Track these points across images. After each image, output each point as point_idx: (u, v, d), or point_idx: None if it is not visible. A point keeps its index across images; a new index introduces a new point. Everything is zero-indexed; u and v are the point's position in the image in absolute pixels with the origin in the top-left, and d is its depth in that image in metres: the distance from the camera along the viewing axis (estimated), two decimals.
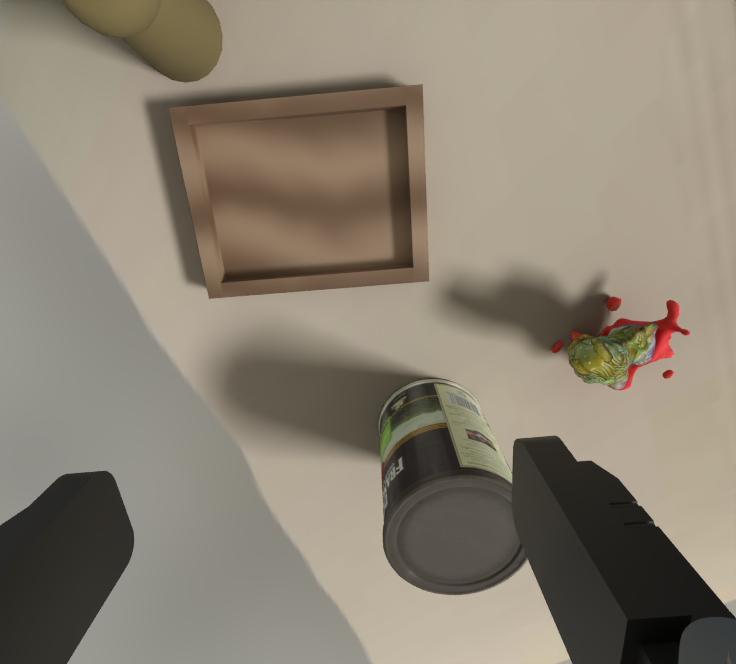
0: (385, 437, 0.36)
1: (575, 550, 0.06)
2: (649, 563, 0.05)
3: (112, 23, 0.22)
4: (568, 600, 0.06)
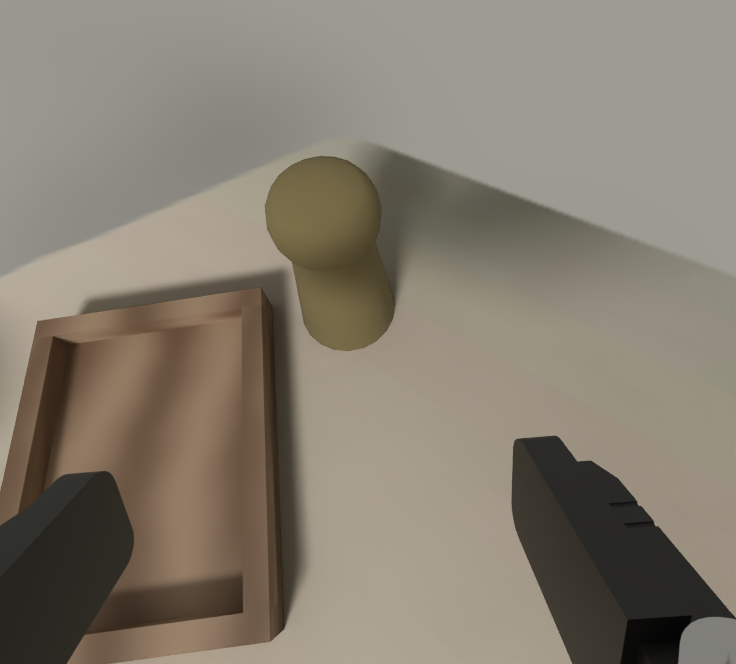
0: None
1: (575, 550, 0.06)
2: (649, 563, 0.05)
3: (266, 212, 0.18)
4: (568, 600, 0.06)
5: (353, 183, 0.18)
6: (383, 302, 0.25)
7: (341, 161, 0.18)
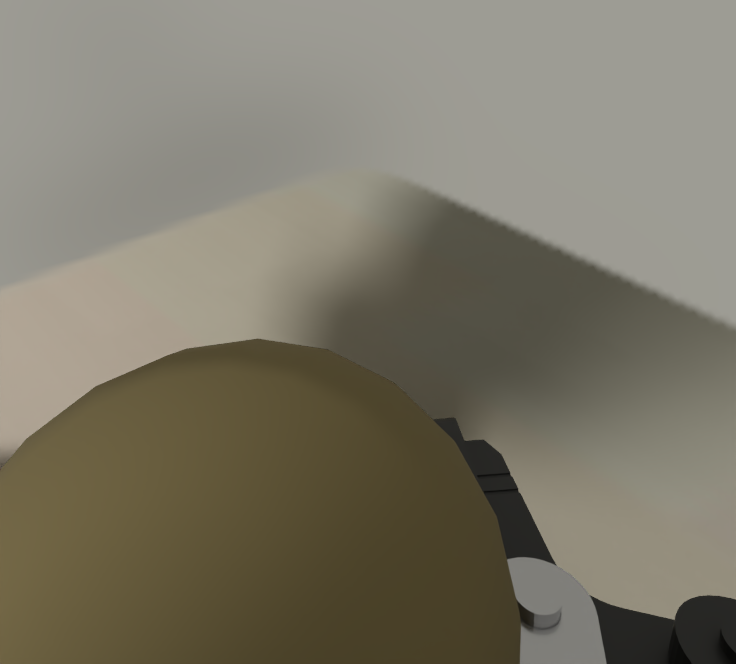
0: None
1: None
2: None
3: None
4: None
5: (401, 612, 0.03)
6: None
7: (338, 406, 0.04)
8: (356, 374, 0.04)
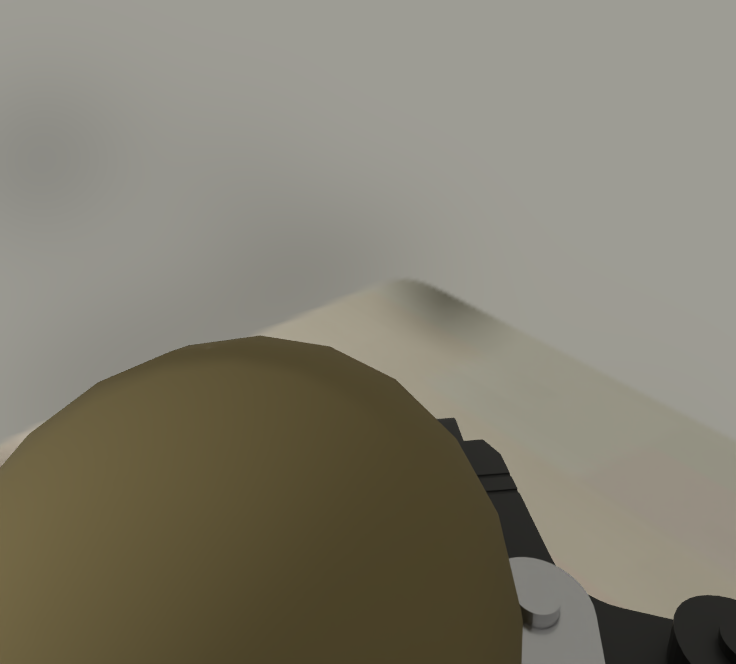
0: None
1: None
2: None
3: None
4: None
5: (405, 607, 0.03)
6: None
7: (341, 402, 0.04)
8: (359, 371, 0.04)
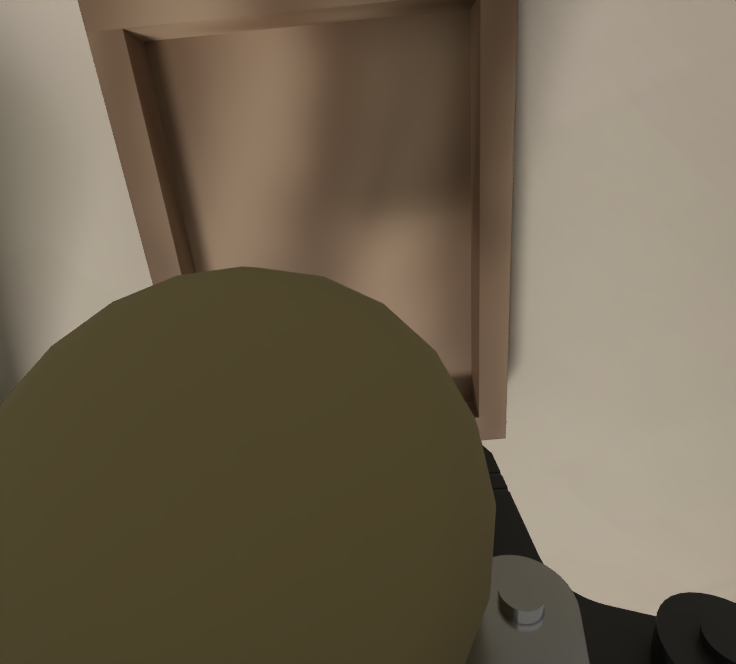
0: None
1: None
2: None
3: None
4: None
5: (386, 472, 0.03)
6: None
7: (332, 312, 0.04)
8: (349, 292, 0.04)
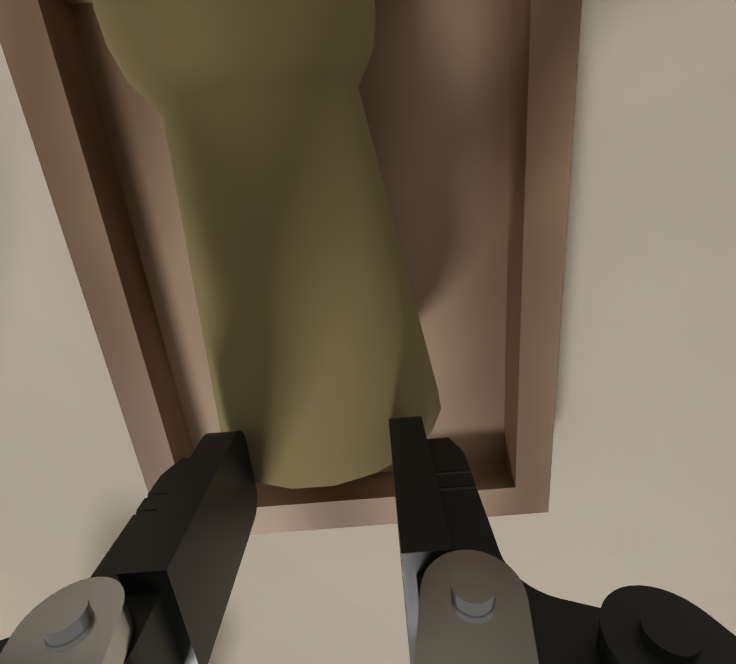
0: None
1: (396, 506, 0.07)
2: (440, 513, 0.06)
3: None
4: (400, 551, 0.07)
5: None
6: (396, 336, 0.09)
7: None
8: None
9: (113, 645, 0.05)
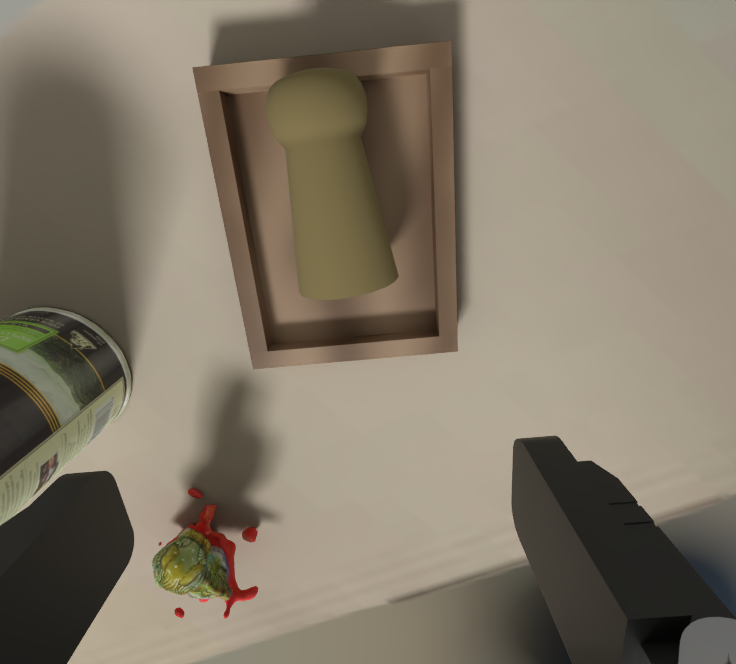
0: (19, 337, 0.25)
1: (575, 550, 0.06)
2: (649, 563, 0.05)
3: None
4: (568, 600, 0.06)
5: None
6: (379, 236, 0.23)
7: None
8: None
9: None
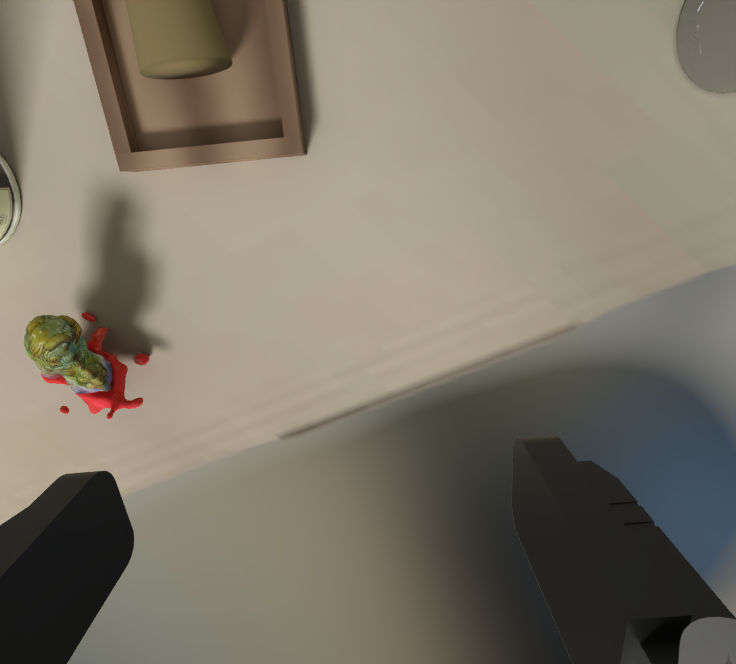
0: None
1: (575, 550, 0.06)
2: (649, 563, 0.05)
3: None
4: (568, 600, 0.06)
5: None
6: (198, 8, 0.26)
7: None
8: None
9: None
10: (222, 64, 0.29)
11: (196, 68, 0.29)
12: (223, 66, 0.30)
